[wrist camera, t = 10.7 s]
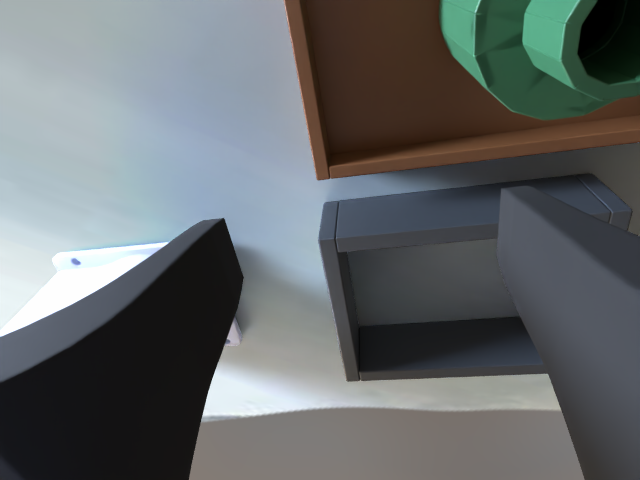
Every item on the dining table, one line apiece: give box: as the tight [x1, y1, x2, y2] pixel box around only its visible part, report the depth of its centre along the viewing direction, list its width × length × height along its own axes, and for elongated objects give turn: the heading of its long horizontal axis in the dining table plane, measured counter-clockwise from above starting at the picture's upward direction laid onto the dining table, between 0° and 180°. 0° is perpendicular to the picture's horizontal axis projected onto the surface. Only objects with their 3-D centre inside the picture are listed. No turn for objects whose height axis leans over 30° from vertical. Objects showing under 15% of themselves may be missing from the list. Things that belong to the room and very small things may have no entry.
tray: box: [284, 0, 640, 180], centre depth 15 cm, size 16×11×2 cm
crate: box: [318, 174, 632, 381], centre depth 21 cm, size 13×10×4 cm
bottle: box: [439, 0, 640, 120], centre depth 12 cm, size 5×5×8 cm
